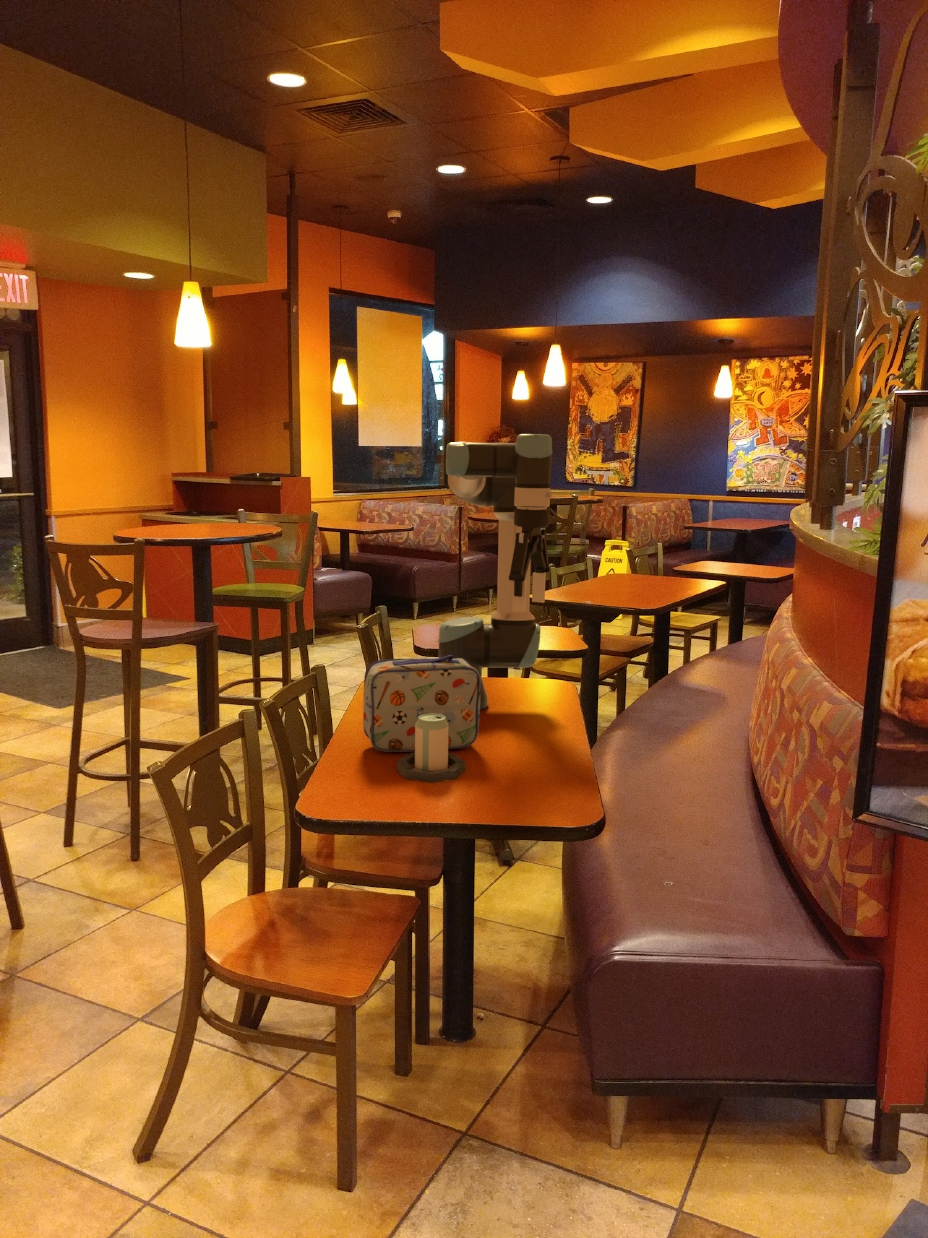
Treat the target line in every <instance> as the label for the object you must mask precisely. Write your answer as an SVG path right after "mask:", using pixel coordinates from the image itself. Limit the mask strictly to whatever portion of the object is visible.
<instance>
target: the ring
mask: <svg viewBox="0 0 928 1238" xmlns="http://www.w3.org/2000/svg"><path fill="white" fill-rule="evenodd" d="M413 766H415V752H410V753H407V754H406V755H404V756H403V757H401V758H400V759H398V760H397V761H396V772H397V773H399V774H400V775H401V776H402V777H403V778H404V779H405V780H409V779H410V781H416V780H418V781H417V782H423V783H428V782H429V784H430V783H431V784H433V783H439V782H440V781H441V782H447V781H446V780H448V781H454V780H455V781H456V780H457V779H458V778H459V777H461V776H462V775H463V774H465V772H466V761H464V759H463V758H461V757H459V756H458V755H457V754H455V753H454V754H453V753H449V752H448V767H449V768H446V769H438V770H425V769H418V768H415V767H413ZM461 774H462V775H461ZM444 780H445V781H444Z"/></svg>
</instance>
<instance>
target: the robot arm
mask: <svg viewBox="0 0 928 1238" xmlns="http://www.w3.org/2000/svg"><path fill="white" fill-rule="evenodd" d="M552 447H553V438H552V436H551V434H550V435H549V434H545V433H544V434H542V433H533V434H532V433H521V434H518V435H517V436H516V443H515V442H474V441H473V442H470V441H469V442H468V441H463V440H462V441H457V442H456V441H455V442H453V441H452V442H449V443H447V445H446V447H445V448H446V450H445V474H446V475H447V485H448V488H449V490H450V492H451V493H452V494H453V496H455V497H456V498H457V499H460V500H461V501H462V502H465V503H467V504H470V505H473V506H474V505H475V506H479V507H492V508H493V510H492V511H493V513H492V514H493V515H494V516H495V518H496V519H497V520H498V538H497V539H498V544H497V545H498V546H497V547H498V553H497V555H498V556H497V592H496V593H497V597H496V599H497V601H496V611H495V612H494V614H493V615H491V617H490V623H484V620H483V618H482V617H478V616H476V617H473V616H468V617H467V616H466V617H458V618H453V619H449V620H446V621H444V622H443V623H442V624H441V625H440V626H439V630H438V639H437V642H438V658H442V657H446V656H448V655H453V656H454V658H462V659H465V660H466V661H468V662H469V663H470V665H471V666H472V667H474V668H475V669H476V670H477V671H478V672H479V675H480V681H481V683H480V711H481V710H484V709H486V708H488V703H489V701H488V700H489V699H488V694H487V690H486V687H485V684H484V680H483V677H482V675H483V674H482V673H483V668H499V669H500V668H504V669H505V668H507V669H508V668H509V669H511V668H512V669H514V668H515V669H520V668H521V669H524V668H530V667H533V666H534V665H535V663H536V662H537V659H538V658H537V657H538V654H539V648H540V641H541V626H540V624H538V623H536V617H535V616H534V615H533V614H532V613H531V612H530V598H531V601H532V603H542V604H544V603H545V601H546V598H545V597H546V574H547V573H548V574H549V573H550V572H551V570H550V569H551V568H550V564H549V555H548V553H549V552H548V544H547V530H546V528H548V527H549V525H550V518H551V517H550V516H551V515H550V512H551V511H550V510H549V509H548V507H550V505H551V504H550V503H551V502H550V499H551V498H552V497H553V492H551V477H552V476H551V475H552V472H551V471H552V458H553V457H552V454H553V448H552ZM531 562H532V564H533V565H532V566H533V569H534V570H533V571H534V572H532V589H531ZM530 593H531V594H530ZM530 595H532V596H531V597H530Z"/></svg>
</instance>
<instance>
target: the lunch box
mask: <svg viewBox="0 0 928 1238" xmlns="http://www.w3.org/2000/svg"><path fill="white" fill-rule="evenodd" d="M480 683H481V681H480V675H479V672H478V671H477V670H476V669H475V668H474V667H472V666H471V665H470V663H469V662H468V661H466V660H465V659H462V658H454V656H453V655H448V656H446V657H442V658H439V657H437V658H387V659H379V660H376V661H374V662H372V663H371V664H370V665H368V667H367V668H366V669H365V673H364V679H363V695H362V696H363V707H362V708H363V709H362V711H363V712H362V714H363V715H362V716H363V720H362V721H363V722H362V723H363V730H364V731H363V732H364V734H365V736H366V737H367V738H368V739H369V741H370V744H371V745H372V747H373V748H374V749H375V750H377V751H380V752H387V753H392V752H393V753H394V752H395V753H409V752H410V753H415V724H416V722H417V721H418V719H419V718H418V717H419V716H420V715H423V714H440V715H443V716H445V717H446V718H445V720H446V721H447V723H448V750H456V749H464V748H468V747H470V746H471V745H473V744H474V743H475V742H476V740H477V738H478V735H479V730H480V728H479V727H480V715H481V713H480V712H481V710H480Z"/></svg>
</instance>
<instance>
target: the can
mask: <svg viewBox="0 0 928 1238" xmlns="http://www.w3.org/2000/svg"><path fill="white" fill-rule="evenodd" d="M418 718H419V719H418V721H417V722H416V724H415V752H414V753H415V765H414V768H418V769H425V770H438V769H446V768H448V767H449V765H448V753H449V749H448V723H447V721H446V720H445V718H446V717H445V716H443V715H440V714H423V715H420V716H419V717H418Z"/></svg>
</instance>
